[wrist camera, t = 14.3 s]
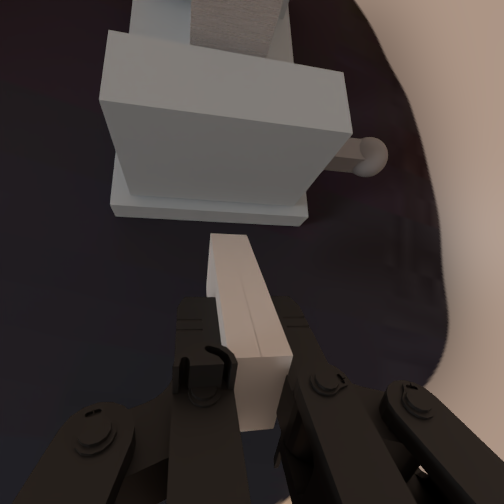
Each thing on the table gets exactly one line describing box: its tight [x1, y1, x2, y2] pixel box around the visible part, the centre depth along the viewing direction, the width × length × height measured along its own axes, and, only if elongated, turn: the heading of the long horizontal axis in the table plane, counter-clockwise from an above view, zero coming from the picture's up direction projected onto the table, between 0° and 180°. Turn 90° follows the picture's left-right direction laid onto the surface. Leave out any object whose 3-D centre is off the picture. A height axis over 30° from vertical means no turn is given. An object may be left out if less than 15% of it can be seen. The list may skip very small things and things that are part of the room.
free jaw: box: [99, 30, 388, 206], centre depth 15 cm, size 13×4×6 cm, turn 92°
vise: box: [110, 0, 308, 226], centre depth 17 cm, size 12×21×8 cm, turn 2°
